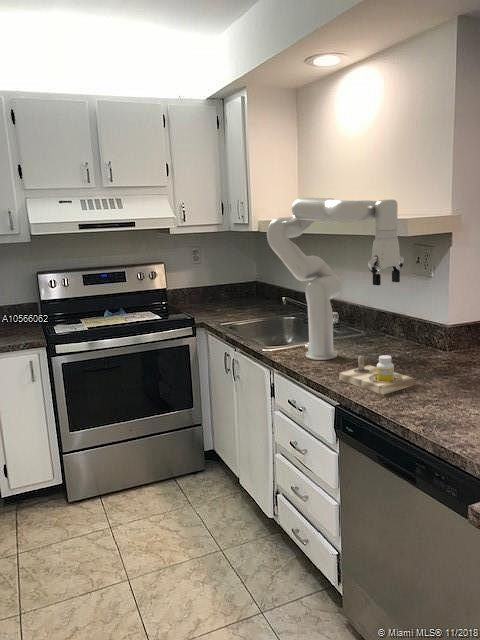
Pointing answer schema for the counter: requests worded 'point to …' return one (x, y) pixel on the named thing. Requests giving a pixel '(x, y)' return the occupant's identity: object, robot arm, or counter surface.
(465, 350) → the counter surface
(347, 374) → the plate
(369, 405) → the counter surface
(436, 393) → the counter surface
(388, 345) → the counter surface
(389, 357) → the supplement bottle
